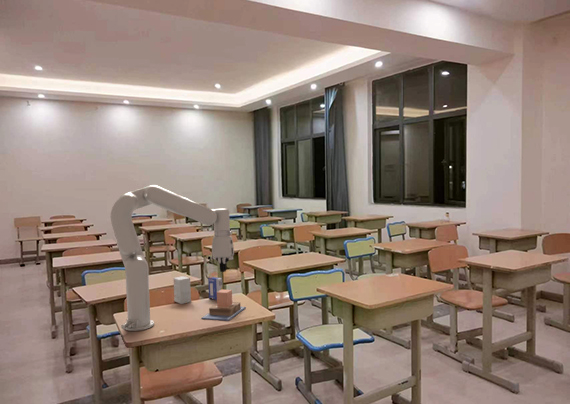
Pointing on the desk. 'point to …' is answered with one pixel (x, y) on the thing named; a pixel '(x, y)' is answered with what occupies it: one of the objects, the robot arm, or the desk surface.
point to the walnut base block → (224, 309)
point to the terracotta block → (224, 298)
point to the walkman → (214, 286)
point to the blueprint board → (222, 316)
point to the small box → (182, 290)
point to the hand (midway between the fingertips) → (223, 271)
